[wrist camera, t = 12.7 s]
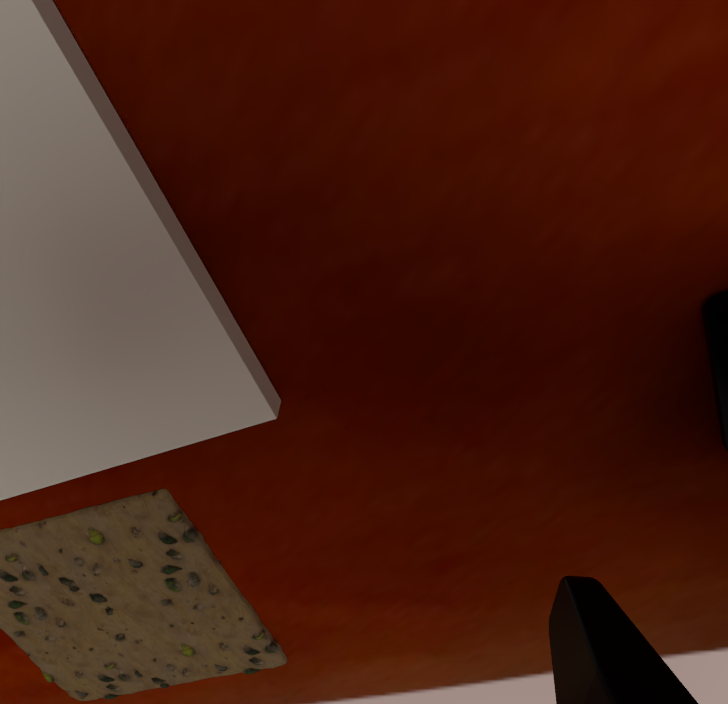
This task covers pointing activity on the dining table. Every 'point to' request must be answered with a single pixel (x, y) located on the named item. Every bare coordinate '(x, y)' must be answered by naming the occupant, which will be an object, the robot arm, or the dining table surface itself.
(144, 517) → the cookie
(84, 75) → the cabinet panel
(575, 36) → the dining table surface
